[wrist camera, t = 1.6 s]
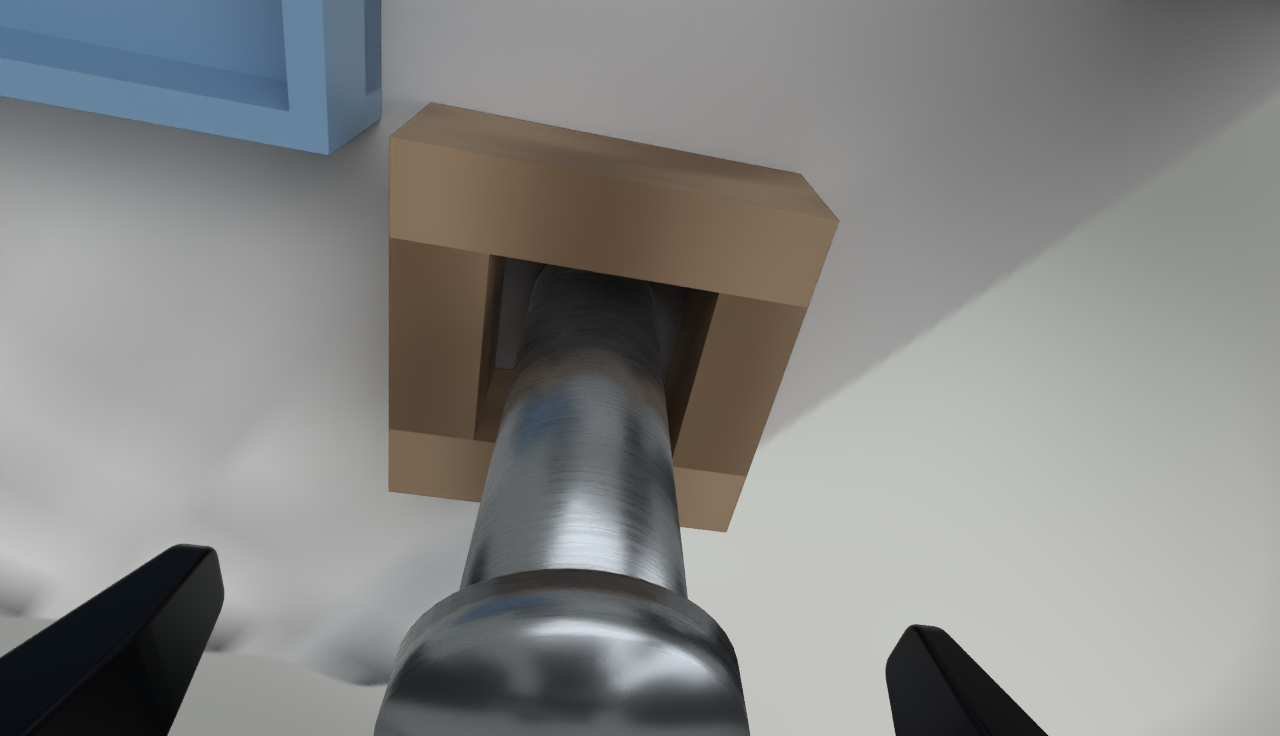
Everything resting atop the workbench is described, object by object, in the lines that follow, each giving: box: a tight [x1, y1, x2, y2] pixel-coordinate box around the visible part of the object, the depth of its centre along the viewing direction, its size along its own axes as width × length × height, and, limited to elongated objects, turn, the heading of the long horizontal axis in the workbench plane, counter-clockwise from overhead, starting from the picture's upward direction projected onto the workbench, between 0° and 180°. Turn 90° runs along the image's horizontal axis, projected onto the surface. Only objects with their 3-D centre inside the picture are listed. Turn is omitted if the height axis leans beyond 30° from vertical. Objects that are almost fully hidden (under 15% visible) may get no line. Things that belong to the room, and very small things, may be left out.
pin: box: [374, 264, 750, 736], centre depth 12 cm, size 4×4×11 cm
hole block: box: [389, 103, 839, 532], centre depth 15 cm, size 8×8×3 cm
